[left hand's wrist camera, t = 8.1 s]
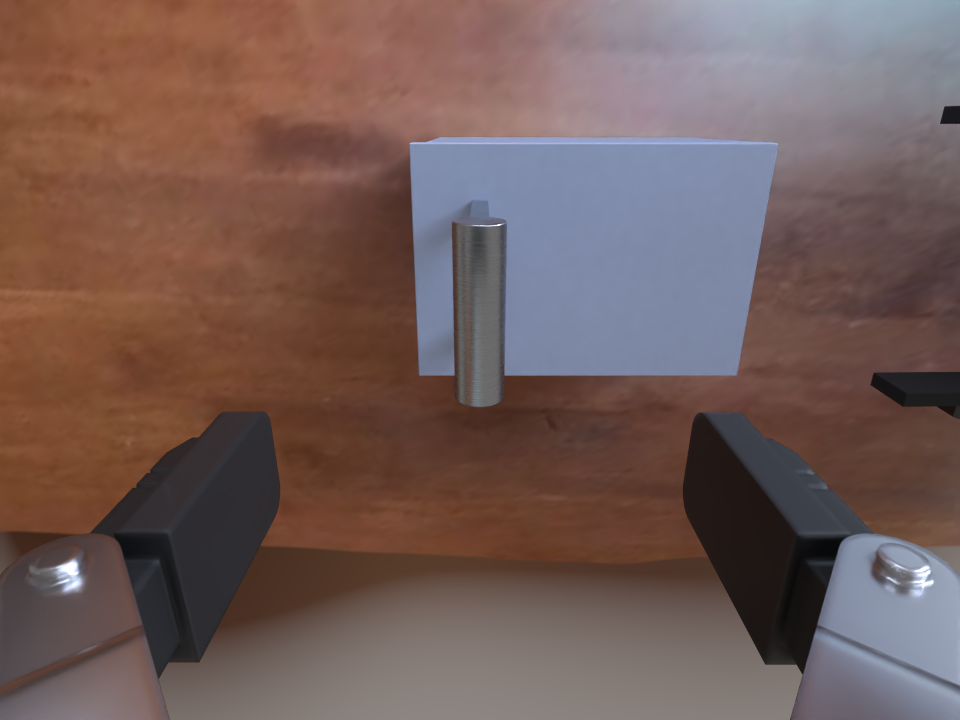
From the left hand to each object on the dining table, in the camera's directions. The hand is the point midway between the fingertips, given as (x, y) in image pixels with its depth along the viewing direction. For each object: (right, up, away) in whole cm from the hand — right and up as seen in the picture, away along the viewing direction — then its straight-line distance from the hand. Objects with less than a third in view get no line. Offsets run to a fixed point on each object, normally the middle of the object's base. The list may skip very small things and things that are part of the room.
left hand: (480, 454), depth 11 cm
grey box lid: (+5, +6, +15) cm, 17 cm away
